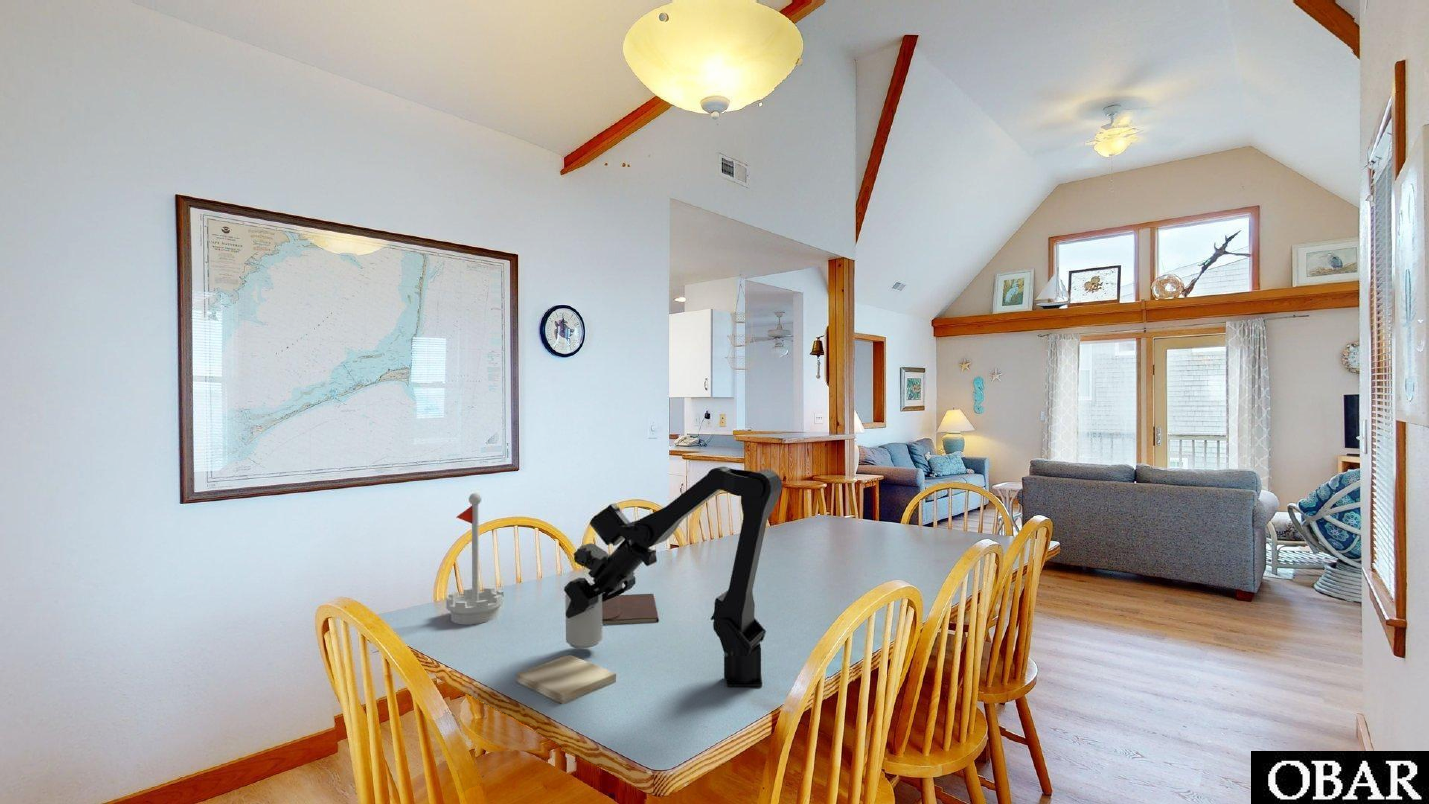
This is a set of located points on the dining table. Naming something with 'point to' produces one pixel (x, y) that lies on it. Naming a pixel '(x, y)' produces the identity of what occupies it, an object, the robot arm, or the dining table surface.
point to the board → (566, 678)
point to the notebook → (630, 609)
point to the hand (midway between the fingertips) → (578, 610)
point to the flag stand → (474, 582)
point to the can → (584, 626)
